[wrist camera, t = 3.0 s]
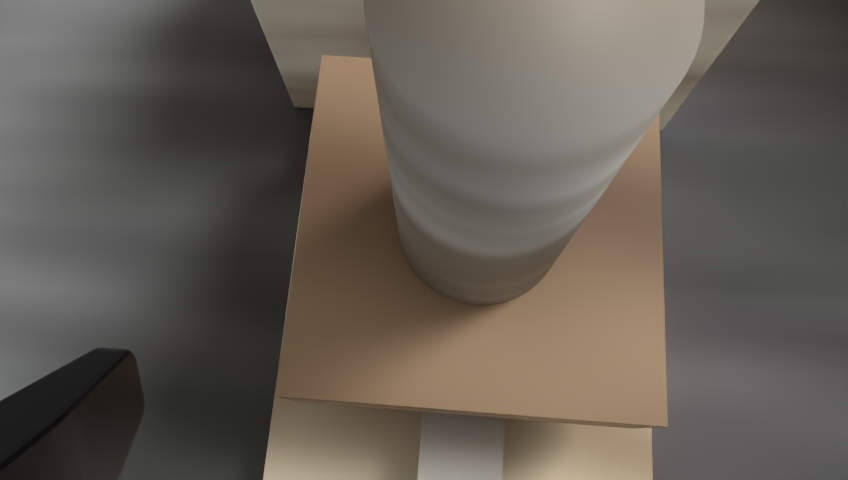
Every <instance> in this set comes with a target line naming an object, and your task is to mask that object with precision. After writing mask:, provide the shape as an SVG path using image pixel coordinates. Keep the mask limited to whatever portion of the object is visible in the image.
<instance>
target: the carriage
mask: <svg viewBox="0 0 848 480" xmlns="http://www.w3.org/2000/svg"><path fill="white" fill-rule="evenodd" d="M363 3H364V12H365V21H366V27H367V34H368V40H369V47H370V53H371V58H361V57H345V56H329V55H322V58H321V66H320V73H319V80H318V88H317V95H316V102H315V110H314V117H313V124H312V131H311V139H310V146H309V153H308V161H307V168H306V175H305V183H304V190H303V197H302V205H301V212H300V219H299V227H298V234H297V241H296V248H295V256H294V263H293V270H292V278H291V285H290V292H289V300H288V307H287V314H286V322H285V329H284V336H283V344H282V351H281V358H280V365H279V373H278V380H277V387H276V395H275V396H277V397H281V398H284V399H288V400H291V401H295V402H301V403H313V404H326V405H339V406H352V407H364V408H377V409H390V410H402V411H415V412H428V413H441V414H453V415H466V416H479V417H492V418H504V419H517V420H530V421H542V422H555V423H568V424H581V425H593V426H606V427H619V428H632V429H635V428H654V427H668V422H667V384H666V347H665V310H664V273H663V235H662V198H661V161H660V124H659V112H660V111H661V110H662V108H663V107H664V105H665V104H666V102H667V101H668V100H669V98H670V97H671V95H672V94H673V92H674V91H675V90H676V88H677V87H678V85H679V84H680V82H681V81H682V80H683V78H684V77H685V75H686V73H687V71H688V69H689V67H690V66H691V64H692V62H693V60H694V58H695V55H696V52H697V49H698V46H699V44H700V41H701V36H702V30H703V25H704V6H705V1H704V0H363Z"/></svg>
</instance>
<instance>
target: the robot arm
mask: <svg viewBox="0 0 848 480" xmlns="http://www.w3.org/2000/svg"><path fill="white" fill-rule="evenodd" d="M143 413H144V396H143V391H142V386H141V381H140V376H139V372H138V367H137V362H136V359H135V356H134V354H133V353H132V352H131V351H129V350H126V349H115V348H96V349H94V350H92V351H90V352H88V353H86V354H84V355H83V356H81V357H79V358H77V359H75V360H74V361H72V362H70V363H68V364H66V365H65V366H63V367H61V368H59V369H57V370H55V371H54V372H52V373H50V374H48V375H46V376H45V377H43V378H41V379H39V380H37V381H36V382H34V383H32V384H30V385H28V386H26V387H25V388H23V389H21V390H19V391H17V392H16V393H14V394H12V395H10V396H8V397H7V398H5V399H3V400H1V401H0V480H119V479H120V476H121V473H122V471H123V468H124V466H125V463H126V460H127V458H128V455H129V452H130V450H131V447H132V445H133V442H134V439H135V437H136V434H137V431H138V429H139V426H140V423H141V421H142V418H143Z"/></svg>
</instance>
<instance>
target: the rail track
mask: <svg viewBox="0 0 848 480" xmlns="http://www.w3.org/2000/svg"><path fill="white" fill-rule="evenodd" d="M250 1H251V3H252V6H253V8H254V10H255V13H256V15H257V18H258V20H259V23H260V25H261V27H262V30H263V32H264V35H265V37H266V40H267V42H268V44H269V47H270V49H271V52H272V54H273V57H274V59H275V61H276V64H277V66H278V69H279V71H280V74H281V76H282V78H283V81H284V83H285V86H286V88H287V91H288V93H289V95H290V98H291V100H292V103H293V105H294V107H301V108H314V110H315V102H316V95H317V88H318V80H319V73H320V66H321V58H322V55H329V56H345V57H361V58H371V53H370V47H369V40H368V34H367V27H366V21H365V12H364V3H363V0H250ZM704 1H705V6H704V25H703V30H702V36H701V41H700V44H699V46H698V49H697V52H696V55H695V58H694V60H693V62H692V64H691V66H690V67H689V69H688V71H687V73H686V75H685V77H684V78H683V80H682V81H681V82H680V84H679V85H678V87H677V88H676V90H675V91H674V92H673V94H672V95H671V97H670V98H669V100H668V101H667V102H666V104H665V105H664V107H663V108H662V110H661V111H660V112H659V124H660V131H662V130H663V129H664V127H665V126H666V125H667V123H668V122H669V121H670V119H671V118H672V117H673V115H674V114H675V113H676V111H677V110H678V109H679V107H680V106H681V105H682V103H683V102H684V101H685V99H686V98H687V97H688V95H689V94H690V93H691V91H692V90H693V89H694V87H695V86H696V85H697V83H698V82H699V81H700V79H701V78H702V77H703V75H704V74H705V73H706V71H707V70H708V69H709V67H710V66H711V65H712V63H713V62H714V61H715V59H716V58H717V57H718V55H719V54H720V53H721V51H722V50H723V49H724V47H725V46H726V45H727V43H728V42H729V41H730V39H731V38H732V37H733V35H734V34H735V32H736V31H737V30H738V28H739V27H740V26H741V24H742V23H743V22H744V20H745V19H746V18H747V16H748V15H749V14H750V12H751V11H752V10H753V8H754V7H755V6H756V4H757V3H758V2H759V0H704ZM313 117H314V111H313ZM312 124H313V118H312ZM311 131H312V125H311ZM310 139H311V133H310ZM309 146H310V140H309ZM308 153H309V147H308ZM307 161H308V155H307ZM306 168H307V162H306ZM305 175H306V169H305ZM304 183H305V176H304ZM303 190H304V184H303ZM302 197H303V191H302ZM301 205H302V198H301ZM300 212H301V206H300ZM299 219H300V213H299ZM298 227H299V220H298ZM297 234H298V228H297ZM296 241H297V235H296ZM295 248H296V242H295ZM294 256H295V249H294ZM293 263H294V257H293ZM292 270H293V264H292ZM291 278H292V271H291ZM290 285H291V279H290ZM289 292H290V286H289ZM288 300H289V293H288ZM288 300H287V307H288ZM286 314H287V308H286ZM285 322H286V315H285ZM285 322H284V329H285ZM283 336H284V330H283ZM282 344H283V337H282ZM282 344H281V351H282ZM281 351H280V358H281ZM279 365H280V359H279ZM278 373H279V366H278ZM278 373H277V380H278ZM276 387H277V381H276ZM275 395H276V388H275ZM275 395H274V402H273V410H272V417H271V424H270V432H269V439H268V446H267V454H266V461H265V468H264V475H263V480H653V474H652V428H635V429H632V428H619V427H606V426H593V425H581V424H568V423H555V422H542V421H530V420H517V419H504V418H492V417H479V416H466V415H453V414H441V413H428V412H415V411H402V410H390V409H377V408H364V407H352V406H339V405H326V404H313V403H301V402H295V401H291V400H288V399H284V398H281V397H277V396H275Z"/></svg>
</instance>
